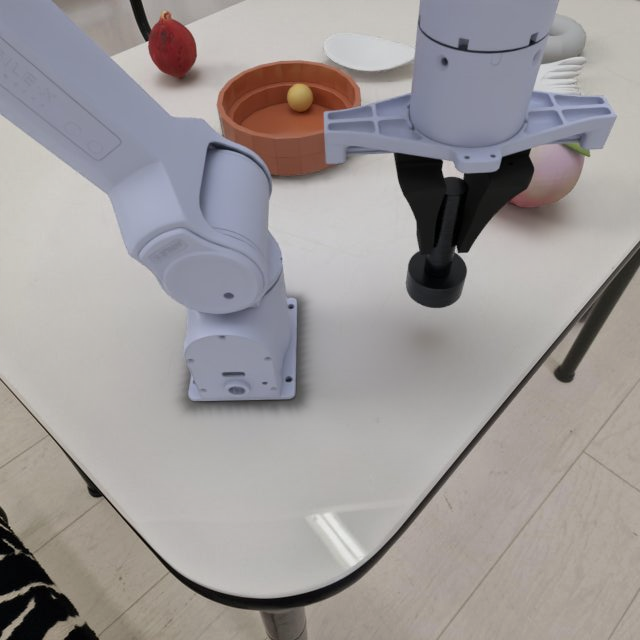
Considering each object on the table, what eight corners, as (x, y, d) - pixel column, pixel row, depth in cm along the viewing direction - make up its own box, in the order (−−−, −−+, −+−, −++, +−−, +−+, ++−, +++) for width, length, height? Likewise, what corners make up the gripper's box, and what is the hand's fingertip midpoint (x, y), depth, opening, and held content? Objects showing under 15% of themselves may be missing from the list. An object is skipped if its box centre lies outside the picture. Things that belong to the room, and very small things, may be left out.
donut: (545, 29, 73) (487, 43, 70) (554, 2, 70) (494, 16, 68) (596, 60, 67) (535, 77, 65) (608, 32, 64) (544, 49, 62)
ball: (308, 109, 58) (320, 89, 59) (285, 93, 57) (299, 73, 58) (301, 121, 61) (313, 102, 62) (279, 105, 60) (292, 86, 61)
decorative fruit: (575, 193, 51) (619, 99, 43) (548, 243, 47) (591, 149, 39) (486, 163, 55) (512, 71, 47) (454, 207, 51) (476, 114, 43)
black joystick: (466, 307, 36) (495, 207, 29) (409, 309, 36) (422, 210, 29) (456, 264, 38) (480, 162, 31) (402, 267, 38) (414, 166, 31)
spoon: (571, 120, 59) (583, 91, 56) (313, 74, 67) (312, 47, 64) (578, 81, 64) (589, 53, 61) (337, 42, 72) (337, 16, 69)
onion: (193, 91, 65) (177, 24, 59) (150, 87, 66) (130, 21, 59) (208, 68, 68) (194, 2, 62) (167, 65, 69) (150, 0, 63)
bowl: (363, 178, 54) (365, 135, 50) (218, 182, 54) (209, 140, 50) (355, 99, 63) (356, 58, 59) (231, 103, 63) (224, 62, 59)
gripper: (320, 79, 20) (332, 295, 31) (692, 56, 20) (573, 284, 31) (318, 2, 25) (329, 216, 36) (625, -18, 24) (541, 205, 35)
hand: (441, 243), depth 34 cm, fingers closed on black joystick, 2 cm apart
